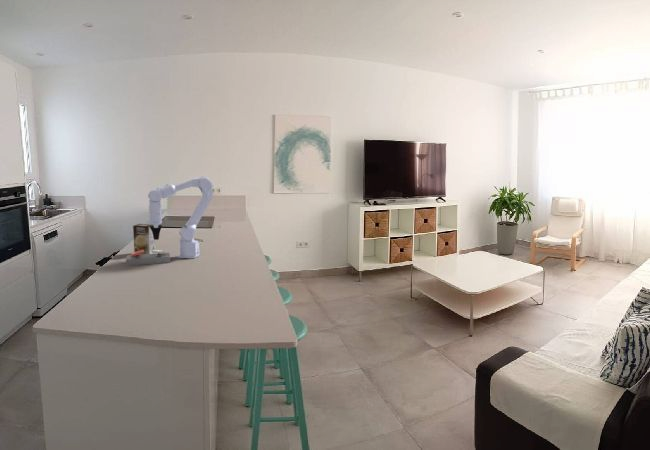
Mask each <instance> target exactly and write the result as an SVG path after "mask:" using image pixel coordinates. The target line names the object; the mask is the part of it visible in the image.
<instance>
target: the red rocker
mask: <svg viewBox="0 0 650 450" xmlns="http://www.w3.org/2000/svg"><path fill="white" fill-rule="evenodd" d="M142 253H144V250H140V251H138V252H135V253H134V252H131V253H130V255H131V257H133V256H136V255H139V254H142Z"/></svg>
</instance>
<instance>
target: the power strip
mask: <svg viewBox="0 0 650 450" xmlns="http://www.w3.org/2000/svg"><path fill="white" fill-rule="evenodd" d="M166 263H167V264H168V263H171V255H170V252H165V254H160V253H154V254H143V255H136V256H133V257H131V254H130V255H126V257H125V266H139V265H152V264H153V265H154V264H166Z"/></svg>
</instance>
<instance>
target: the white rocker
mask: <svg viewBox="0 0 650 450" xmlns="http://www.w3.org/2000/svg"><path fill="white" fill-rule="evenodd" d="M152 252H153V253H154V254H158V253H160V254H165V253H166V250H162V249H161V250H159V249H155V250H153V251H152Z"/></svg>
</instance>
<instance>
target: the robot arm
mask: <svg viewBox="0 0 650 450" xmlns="http://www.w3.org/2000/svg"><path fill="white" fill-rule="evenodd" d="M213 186H214V185H213V182H212V181H211V179H210V178H208V177H206V176H198V177H194V178H191V179H188V180H185V181H183V182H180V183H177V184H175V185H174V184H172V183H169V184H168V183H166V184H165V185H164V186H162V187H156V189H151V190H150V191H148V195H147V197H148V199H149V200H148V203H149V205H148V209H149V210H148V211H149V215H148V216H149V221H147V222H146V224H151V225H154V226H150V228H151V230H152V233H153V238H154V240H155V241H157V240H160V239H159V238H160V232H161V229H162V228H163V226H162V224H163V221H162V218H163V217H162V203H161V202H162V201H161V200H162V199H163V200H164V199H166V198H168V197H169V198H170V197H172V196H175V195H176V194H177V192H179V191H182V190H184V189H188V188H191V187H194V188H199V190H200V192H201V194H202V195H201V198H200V200H199V202H198V203H197V204H196V207H195V209H193V212H192V214H191V215H190V217H189V219H188V221H186V223H185V224H184V226H182V227H181V228H180V229H179V232H178V233H179V236H180V238H179V256H177V259H196V258H198V257H199V256H201V255H200V243H199V240H195V238H194V237H195V232H196V230H197V226H198V224H199V223H200V221H201V219H202V217H203V215H204V213H205V212H206V210H207V208H208V206H209V205H210V204H211V202H212V199H213V197H214V193H213Z"/></svg>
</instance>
